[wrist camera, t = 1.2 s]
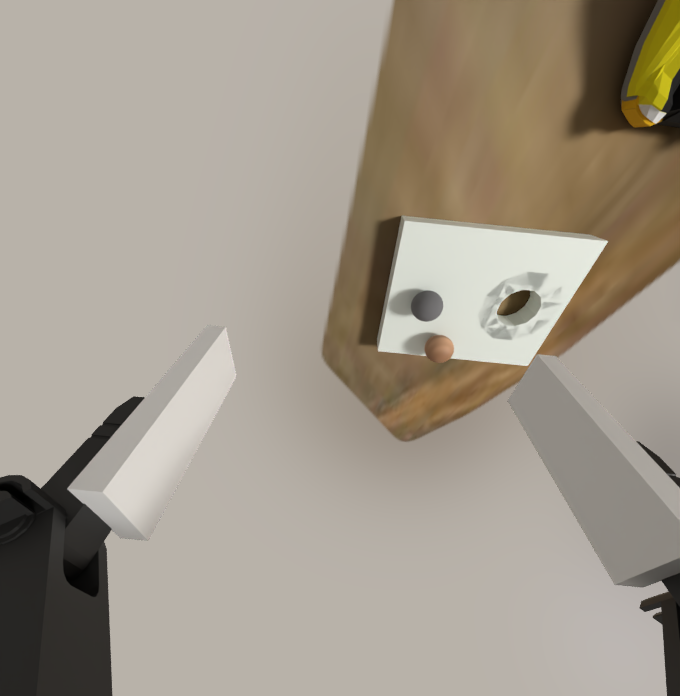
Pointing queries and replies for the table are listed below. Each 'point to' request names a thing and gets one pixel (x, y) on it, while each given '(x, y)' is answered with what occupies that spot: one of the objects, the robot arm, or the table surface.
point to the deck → (482, 286)
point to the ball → (427, 306)
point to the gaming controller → (655, 71)
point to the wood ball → (439, 348)
